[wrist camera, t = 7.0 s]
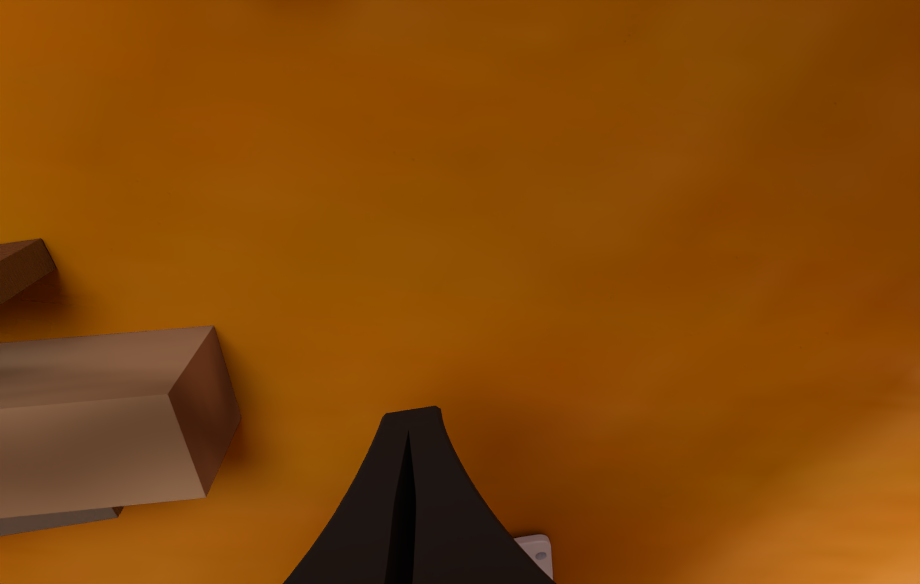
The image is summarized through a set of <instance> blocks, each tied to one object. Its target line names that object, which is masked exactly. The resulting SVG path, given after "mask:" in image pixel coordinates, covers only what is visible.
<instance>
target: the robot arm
mask: <svg viewBox="0 0 920 584" xmlns="http://www.w3.org/2000/svg"><path fill="white" fill-rule="evenodd" d="M283 584H556V583H555V582H554V581H553V570H552V554H551V544H550V541H549V538H548V537H547V536H546V535H542V534H537V535H531V536H525V537H519V538H512V536H511V535H510V534H509V533H508V531H507V530H506V529H505V528H504V526H503V525H502V524H501V523H500V522H499V520H498V519H497V518H496V516H495V515H494V514H493V512H492V511H491V510H490V508H489V507H488V505H487V504H486V503H485V501H484V500H483V498H482V497H481V495H480V494H479V492H478V491H477V489H476V488H475V486H474V484H473V483H472V481H471V480H470V478H469V476H468V475H467V473H466V471H465V469H464V468H463V466H462V464H461V462H460V460H459V458H458V456H457V454H456V452H455V450H454V448H453V446H452V444H451V442H450V439H449V437H448V435H447V432H446V429H445V426H444V423H443V419H442V413H441V409H440V408H438V407H437V406H431V407H424V408H418V409H411V410H405V411H398V412H392V413H386V414H385V415H384V416H383V417H382V420H381V422H380V425H379V428H378V430H377V433H376V435H375V437H374V440H373V442H372V444H371V446H370V448H369V451H368V453H367V455H366V457H365V459H364V461H363V463H362V465H361V467H360V469H359V471H358V473H357V475H356V477H355V479H354V480H353V482H352V484H351V486H350V488H349V489H348V491H347V493H346V494H345V496H344V498H343V500H342V501H341V503H340V505H339V506H338V508H337V510H336V511H335V513H334V515H333V516H332V518H331V519H330V521H329V522H328V524H327V525H326V527H325V528H324V530H323V531H322V533H321V534H320V536H319V537H318V539H317V540H316V541H315V543H314V544H313V546H312V547H311V548H310V550H309V551H308V552H307V554H306V555H305V556H304V558H303V559H302V560H301V561H300V563H299V564H298V565H297V567H296V568H295V569H294V570H293V572H292V573H291V574H290V576H289V577H288V578H287V579H286V580H285V582H284V583H283Z"/></svg>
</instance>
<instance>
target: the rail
mask: <svg viewBox="0 0 920 584" xmlns="http://www.w3.org/2000/svg"><path fill="white" fill-rule="evenodd" d="M240 419H241V415H240V411H239V408H238V405H237V401H236V398H235V395H234V391H233V388H232V385H231V381H230V378H229V375H228V371H227V368H226V364H225V361H224V358H223V354H222V351H221V348H220V344H219V341H218V338H217V334H216V331H215V328H214V326H202V327H189V328H177V329H165V330H153V331H141V332H129V333H117V334H104V335H92V336H80V337H68V338H56V339H44V340H31V341H19V342H7V343H0V518H8V517H18V516H28V515H38V514H48V513H58V512H68V511H78V510H88V509H98V508H108V507H118V506H128V505H138V504H148V503H158V502H168V501H178V500H188V499H198V498H206V497H207V494H208V492H209V490H210V488H211V485H212V483H213V481H214V478H215V476H216V474H217V472H218V469H219V467H220V465H221V463H222V460H223V458H224V456H225V453H226V451H227V449H228V447H229V444H230V442H231V440H232V438H233V435H234V433H235V431H236V428H237V426H238V424H239V422H240Z"/></svg>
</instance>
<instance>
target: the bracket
mask: <svg viewBox="0 0 920 584" xmlns="http://www.w3.org/2000/svg"><path fill="white" fill-rule="evenodd" d="M54 269H56V267H55V265H54V263H53V261H52V259H51V257H50V255H49V253H48V251H47V250H46V248H45V246H44V244H43V242H42V240H41V239H34V240H27V241H20V242H13V243H6V244H0V305H1V304H3V303H4V302H6V301H7V300H9V299H10V298H12V297H13V296H15V295H16V294H18V293H19V292H21V291H22V290H24V289H25V288H27V287H28V286H30V285H31V284H33V283H34V282H36V281H37V280H39V279H40V278H42V277H43V276H45V275H47V274H48V273H50V272H51V271H53V270H54ZM123 508H124V506H118V507H108V508H98V509H88V510H78V511H68V512H58V513H48V514H38V515H28V516H18V517H8V518H0V536H3V535H9V534H16V533H22V532H29V531H35V530H41V529H48V528H54V527H61V526H67V525H73V524H80V523H86V522H93V521H99V520H105V519H112V518H118V516H119V514H120V513H121V511H122V509H123Z"/></svg>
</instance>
